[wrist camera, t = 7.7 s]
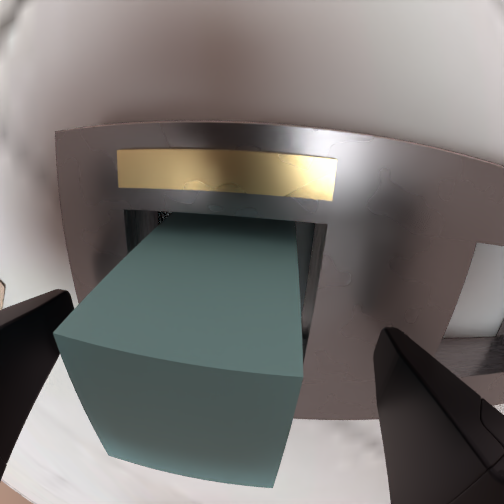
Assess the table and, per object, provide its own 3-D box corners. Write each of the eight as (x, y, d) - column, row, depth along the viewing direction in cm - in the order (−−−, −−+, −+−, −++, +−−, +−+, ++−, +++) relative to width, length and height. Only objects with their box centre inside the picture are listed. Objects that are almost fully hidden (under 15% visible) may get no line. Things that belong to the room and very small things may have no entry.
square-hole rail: (572, 191, 8) (610, 211, 6) (505, 368, 12) (524, 401, 10) (98, 125, 10) (51, 132, 7) (126, 350, 14) (102, 389, 11)
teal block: (294, 217, 10) (303, 377, 4) (282, 318, 12) (272, 487, 6) (176, 208, 11) (52, 332, 4) (180, 306, 12) (108, 455, 6)
